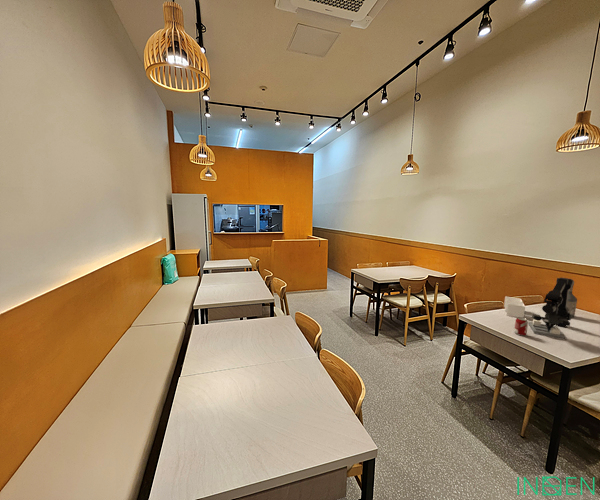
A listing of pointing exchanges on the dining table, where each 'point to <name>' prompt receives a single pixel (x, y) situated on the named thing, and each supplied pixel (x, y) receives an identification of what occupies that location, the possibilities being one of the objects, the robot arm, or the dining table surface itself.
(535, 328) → the gray shelf unit
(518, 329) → the soda can
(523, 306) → the storage container
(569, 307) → the liquor
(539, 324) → the tab
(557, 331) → the tab
